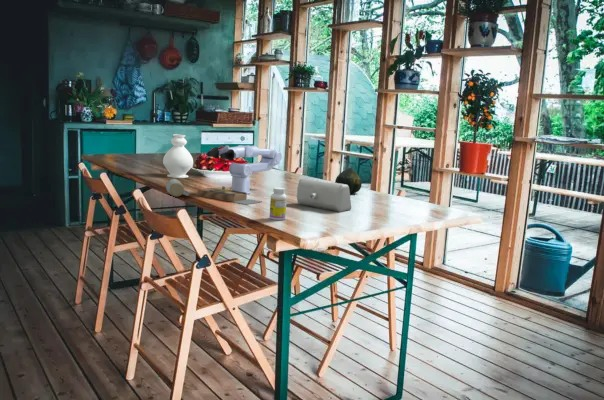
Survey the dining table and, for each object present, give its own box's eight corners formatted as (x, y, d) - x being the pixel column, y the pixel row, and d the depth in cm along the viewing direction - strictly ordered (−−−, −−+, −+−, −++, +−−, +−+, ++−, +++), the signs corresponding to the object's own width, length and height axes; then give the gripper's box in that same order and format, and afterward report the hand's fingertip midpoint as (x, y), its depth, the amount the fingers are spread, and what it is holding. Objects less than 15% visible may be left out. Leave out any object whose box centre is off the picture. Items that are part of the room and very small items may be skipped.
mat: (248, 199, 274) (248, 199, 274) (261, 202, 270) (261, 201, 270) (233, 202, 264) (233, 201, 264) (246, 204, 260) (246, 204, 260)
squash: (338, 185, 307) (356, 165, 310) (326, 182, 320) (343, 163, 323) (354, 202, 312) (371, 182, 315) (342, 198, 326) (358, 179, 329)
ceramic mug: (169, 197, 266) (170, 181, 265) (165, 194, 273) (166, 178, 272) (191, 197, 271) (192, 181, 270) (187, 194, 278) (187, 179, 277)
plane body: (198, 195, 276) (198, 188, 275) (211, 193, 284) (211, 186, 284) (233, 202, 265) (234, 194, 264) (246, 199, 273) (246, 192, 273)
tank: (288, 205, 266) (290, 179, 264) (308, 202, 279) (310, 177, 277) (333, 214, 252) (335, 186, 250) (351, 210, 265) (353, 184, 263)
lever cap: (213, 191, 274) (213, 185, 273) (220, 190, 278) (220, 185, 278) (224, 193, 270) (225, 187, 270) (231, 192, 275) (231, 186, 274)
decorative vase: (157, 174, 340) (158, 133, 336) (182, 174, 352) (184, 133, 348) (172, 179, 327) (173, 135, 323) (198, 177, 339) (199, 136, 335)
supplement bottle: (269, 216, 235) (270, 186, 233) (284, 217, 236) (286, 187, 234) (269, 220, 229) (271, 189, 227) (285, 221, 230) (287, 189, 227)
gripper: (222, 143, 285) (203, 145, 274) (244, 146, 277) (226, 148, 266) (221, 157, 286) (203, 159, 275) (244, 160, 279) (226, 163, 268)
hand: (214, 155), depth 271 cm, fingers open, 7 cm apart
